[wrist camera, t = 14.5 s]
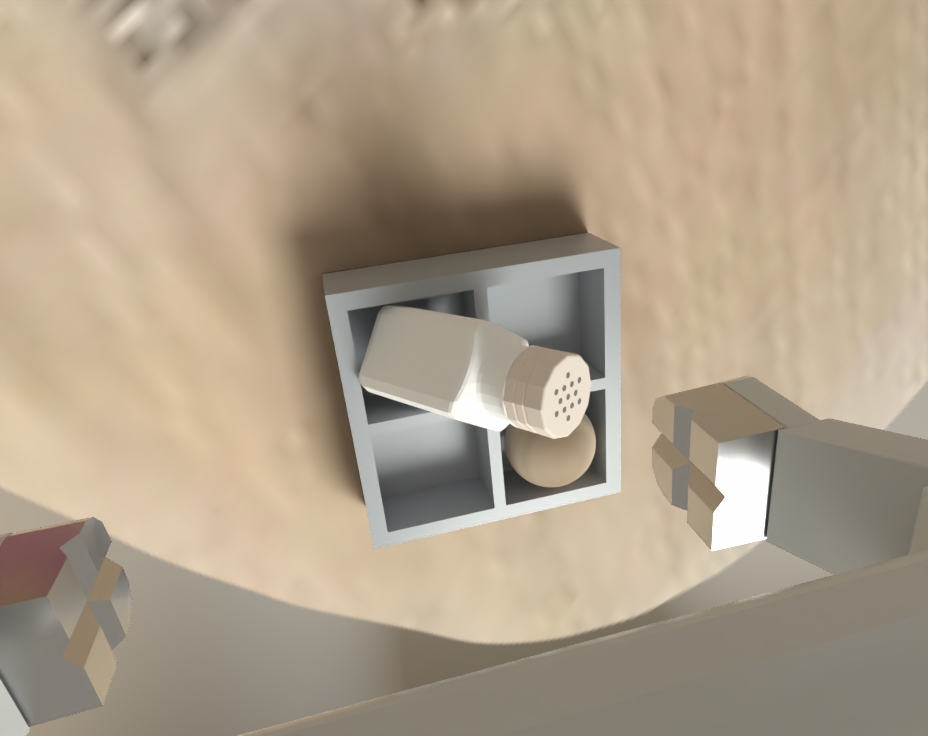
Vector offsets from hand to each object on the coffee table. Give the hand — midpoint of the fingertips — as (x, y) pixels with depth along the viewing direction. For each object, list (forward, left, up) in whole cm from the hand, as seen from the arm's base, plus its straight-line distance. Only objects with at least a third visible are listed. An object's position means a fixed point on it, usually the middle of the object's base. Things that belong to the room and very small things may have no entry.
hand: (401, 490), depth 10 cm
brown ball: (-9, +12, -21) cm, 26 cm away
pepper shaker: (-2, +6, -20) cm, 21 cm away
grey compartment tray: (-6, +9, -22) cm, 24 cm away
